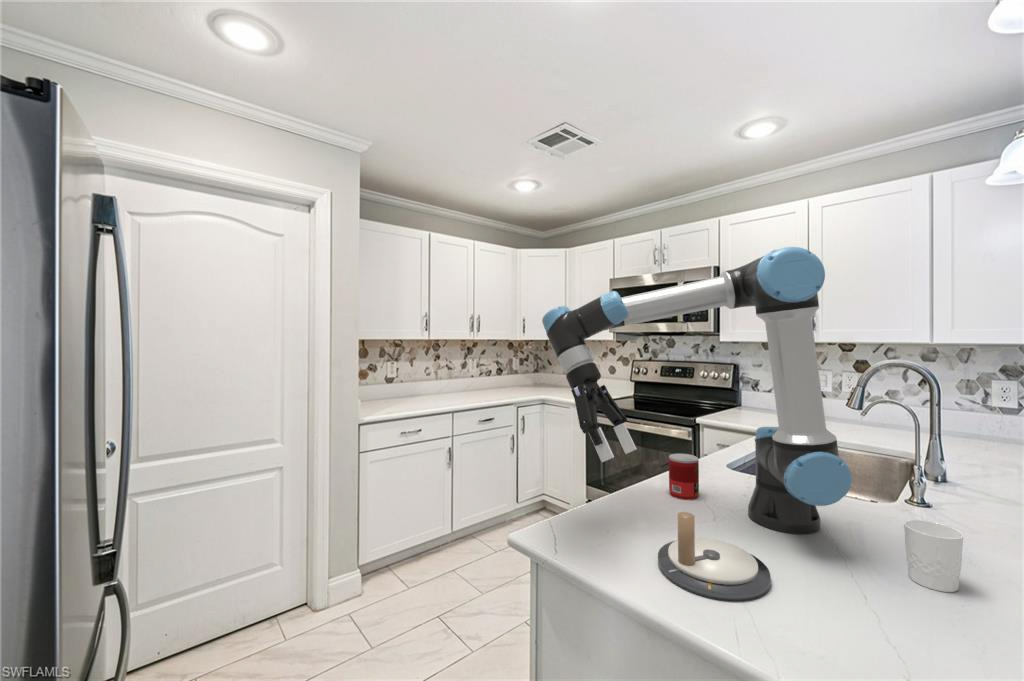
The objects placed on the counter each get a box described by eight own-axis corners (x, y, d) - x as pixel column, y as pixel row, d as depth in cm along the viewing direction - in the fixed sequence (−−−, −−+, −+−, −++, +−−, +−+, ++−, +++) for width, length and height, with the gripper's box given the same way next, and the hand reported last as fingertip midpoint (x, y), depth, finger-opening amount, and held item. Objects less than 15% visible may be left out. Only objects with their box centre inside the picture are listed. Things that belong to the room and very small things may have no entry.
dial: (740, 544, 92) (739, 497, 92) (773, 587, 77) (772, 531, 76) (661, 539, 95) (661, 494, 95) (677, 581, 79) (677, 526, 79)
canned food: (701, 500, 121) (701, 461, 121) (671, 499, 123) (670, 460, 123) (695, 491, 129) (695, 453, 128) (667, 489, 130) (666, 452, 130)
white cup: (892, 571, 84) (892, 520, 84) (930, 569, 85) (930, 518, 85) (935, 596, 76) (935, 539, 76) (976, 593, 77) (976, 537, 77)
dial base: (746, 548, 94) (746, 540, 94) (791, 605, 74) (790, 596, 74) (650, 543, 97) (650, 535, 97) (668, 596, 77) (668, 587, 77)
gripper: (589, 376, 114) (625, 454, 106) (539, 374, 93) (580, 470, 86) (613, 363, 110) (653, 442, 103) (567, 358, 90) (612, 456, 83)
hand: (620, 455), depth 94 cm, fingers open, 13 cm apart
